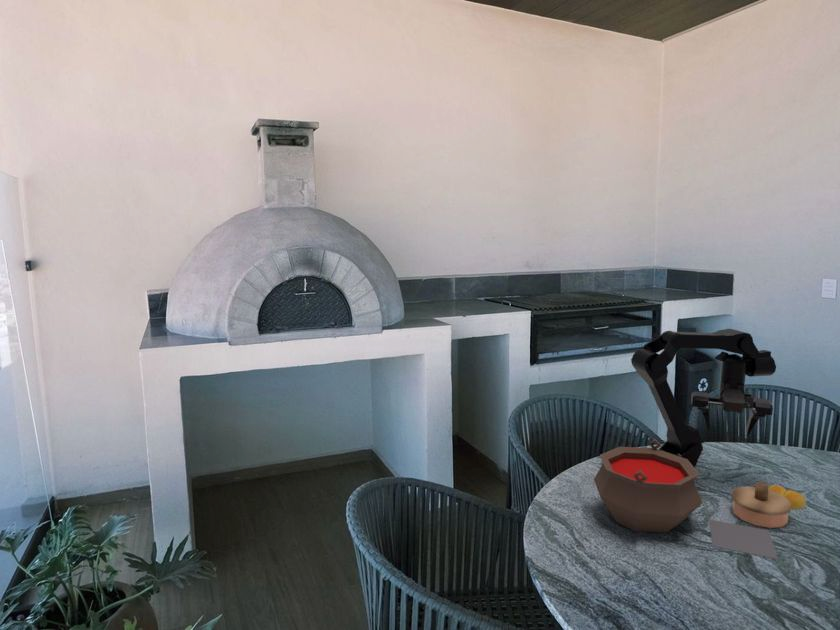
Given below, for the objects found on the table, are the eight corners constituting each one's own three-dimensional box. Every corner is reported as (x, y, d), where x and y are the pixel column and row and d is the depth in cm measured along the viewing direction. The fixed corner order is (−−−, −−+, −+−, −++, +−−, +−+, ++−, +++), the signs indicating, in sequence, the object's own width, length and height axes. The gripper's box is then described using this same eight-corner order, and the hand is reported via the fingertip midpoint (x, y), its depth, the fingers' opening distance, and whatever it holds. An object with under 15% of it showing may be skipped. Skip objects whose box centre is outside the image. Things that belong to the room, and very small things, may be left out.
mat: (712, 549, 124) (712, 545, 123) (708, 522, 134) (709, 519, 134) (777, 562, 119) (777, 558, 119) (768, 533, 130) (768, 530, 130)
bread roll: (799, 516, 138) (801, 500, 137) (758, 502, 144) (760, 487, 144) (810, 505, 143) (812, 490, 142) (770, 492, 150) (771, 477, 149)
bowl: (735, 524, 134) (736, 508, 133) (730, 503, 144) (732, 488, 143) (790, 534, 129) (792, 518, 129) (782, 511, 139) (783, 496, 139)
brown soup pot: (603, 487, 152) (606, 428, 150) (704, 509, 141) (709, 445, 138) (579, 528, 132) (582, 461, 129) (695, 559, 120) (701, 485, 117)
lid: (734, 508, 133) (735, 490, 132) (729, 486, 144) (731, 469, 143) (795, 519, 128) (797, 500, 127) (785, 496, 139) (787, 478, 138)
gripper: (695, 381, 149) (690, 438, 151) (779, 389, 141) (772, 449, 144) (693, 370, 159) (689, 425, 161) (771, 378, 151) (766, 434, 154)
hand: (727, 433), depth 155 cm, fingers open, 9 cm apart
